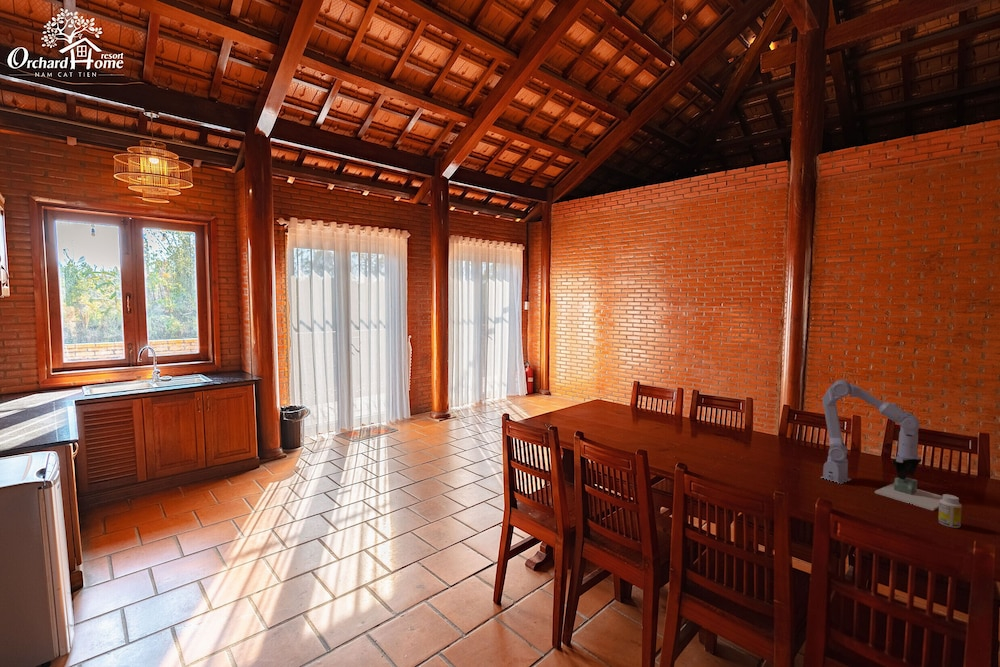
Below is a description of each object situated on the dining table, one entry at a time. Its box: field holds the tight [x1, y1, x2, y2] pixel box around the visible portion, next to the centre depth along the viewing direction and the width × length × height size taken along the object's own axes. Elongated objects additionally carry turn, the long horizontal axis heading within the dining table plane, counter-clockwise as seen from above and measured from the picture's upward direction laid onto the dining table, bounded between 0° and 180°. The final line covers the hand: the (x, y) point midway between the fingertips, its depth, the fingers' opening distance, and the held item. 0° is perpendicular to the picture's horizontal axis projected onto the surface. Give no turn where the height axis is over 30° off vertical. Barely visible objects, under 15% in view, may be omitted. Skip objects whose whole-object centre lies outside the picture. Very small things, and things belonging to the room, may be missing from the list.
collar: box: [893, 476, 918, 495], centre depth 182 cm, size 5×5×5 cm
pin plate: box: [874, 482, 943, 511], centre depth 178 cm, size 18×18×5 cm
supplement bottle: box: [938, 493, 963, 529], centre depth 155 cm, size 6×6×10 cm
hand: (905, 476), depth 181 cm, fingers open, 7 cm apart
